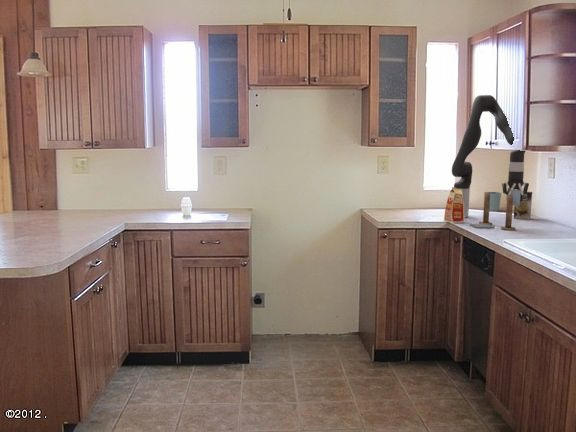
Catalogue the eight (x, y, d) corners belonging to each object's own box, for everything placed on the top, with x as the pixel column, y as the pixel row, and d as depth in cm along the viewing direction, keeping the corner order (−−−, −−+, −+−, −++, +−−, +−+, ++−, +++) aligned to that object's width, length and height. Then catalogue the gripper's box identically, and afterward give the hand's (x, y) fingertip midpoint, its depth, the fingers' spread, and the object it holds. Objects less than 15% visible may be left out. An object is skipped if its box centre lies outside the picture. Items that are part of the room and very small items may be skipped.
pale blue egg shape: (507, 204, 306) (507, 189, 305) (517, 204, 306) (518, 189, 305) (511, 205, 300) (512, 190, 299) (521, 205, 301) (522, 190, 299)
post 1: (477, 223, 316) (478, 191, 313) (489, 223, 316) (491, 191, 314) (481, 225, 309) (483, 192, 306) (494, 225, 309) (496, 192, 307)
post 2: (498, 228, 300) (500, 194, 298) (511, 228, 300) (514, 194, 298) (504, 230, 293) (506, 196, 291) (517, 230, 294) (519, 196, 291)
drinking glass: (501, 210, 370) (502, 192, 368) (498, 212, 362) (499, 193, 360) (485, 209, 375) (486, 191, 374) (482, 211, 367) (483, 192, 365)
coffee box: (513, 218, 334) (514, 191, 332) (514, 217, 340) (516, 190, 338) (529, 219, 330) (531, 192, 328) (530, 218, 336) (532, 191, 333)
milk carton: (451, 223, 318) (453, 187, 315) (443, 220, 326) (444, 186, 324) (466, 222, 320) (467, 187, 317) (457, 220, 329) (458, 185, 326)
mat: (469, 225, 309) (469, 223, 309) (487, 225, 310) (487, 223, 310) (476, 228, 300) (476, 226, 299) (494, 228, 300) (494, 226, 300)
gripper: (526, 170, 305) (524, 201, 307) (500, 170, 304) (498, 201, 307) (532, 171, 297) (530, 202, 299) (505, 171, 297) (504, 202, 299)
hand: (514, 201), depth 303 cm, fingers closed on pale blue egg shape, 5 cm apart
